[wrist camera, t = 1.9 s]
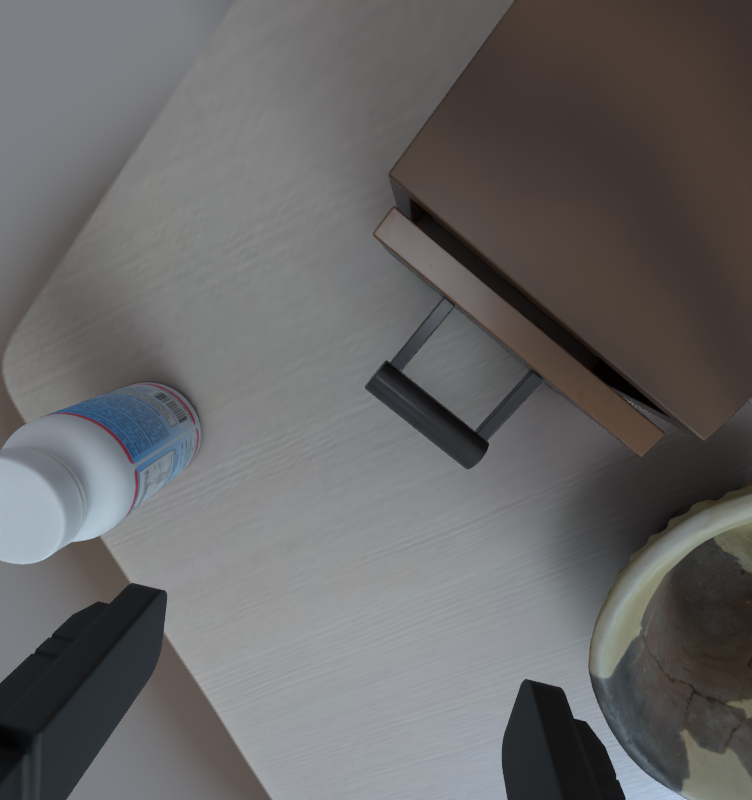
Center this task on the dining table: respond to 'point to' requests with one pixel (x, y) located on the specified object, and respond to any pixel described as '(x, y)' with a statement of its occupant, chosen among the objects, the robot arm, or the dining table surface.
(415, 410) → the drawer
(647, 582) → the bowl
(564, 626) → the dining table surface
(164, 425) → the pill bottle
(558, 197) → the cabinet
